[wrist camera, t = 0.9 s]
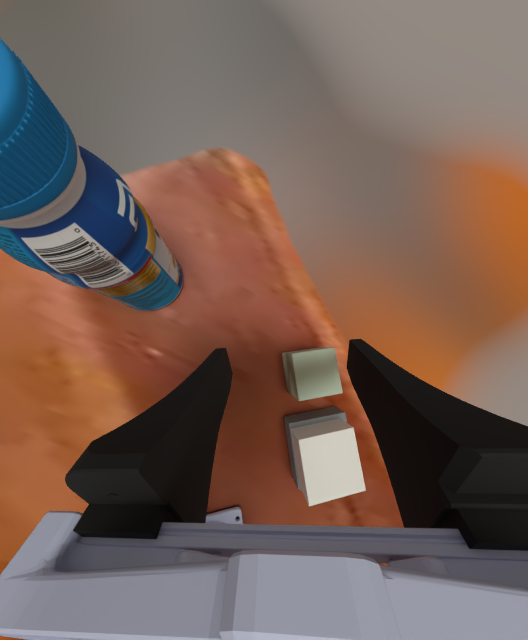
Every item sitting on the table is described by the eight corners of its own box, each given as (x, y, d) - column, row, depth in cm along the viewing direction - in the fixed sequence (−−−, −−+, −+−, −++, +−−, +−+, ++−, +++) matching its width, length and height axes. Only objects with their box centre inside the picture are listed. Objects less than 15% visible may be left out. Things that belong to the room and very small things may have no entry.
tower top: (349, 472, 23) (365, 490, 20) (299, 485, 22) (309, 506, 19) (339, 418, 24) (353, 427, 21) (290, 428, 23) (298, 440, 20)
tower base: (342, 461, 26) (356, 475, 23) (291, 473, 25) (298, 490, 22) (333, 405, 27) (345, 412, 24) (282, 415, 26) (288, 423, 23)
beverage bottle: (103, 301, 25) (-396, 117, 5) (130, 240, 26) (-180, -80, 7) (172, 321, 26) (-40, 227, 6) (194, 261, 27) (84, 28, 7)
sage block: (323, 385, 27) (342, 392, 22) (287, 391, 26) (299, 401, 21) (316, 347, 28) (334, 347, 23) (281, 353, 27) (291, 353, 22)
